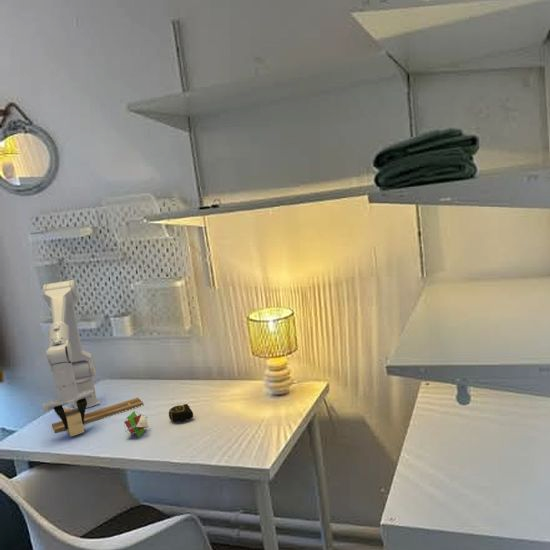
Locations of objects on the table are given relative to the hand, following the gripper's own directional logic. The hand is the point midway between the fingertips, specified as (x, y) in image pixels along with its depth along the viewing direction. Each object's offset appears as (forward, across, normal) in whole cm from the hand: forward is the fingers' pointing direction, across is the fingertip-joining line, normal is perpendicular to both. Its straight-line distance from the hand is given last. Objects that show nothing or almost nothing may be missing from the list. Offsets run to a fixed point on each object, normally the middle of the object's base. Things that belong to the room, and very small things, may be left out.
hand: (74, 426), depth 182 cm
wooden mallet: (+2, 0, +3) cm, 4 cm away
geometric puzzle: (+3, +15, -15) cm, 21 cm away
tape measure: (+3, +29, -15) cm, 33 cm away
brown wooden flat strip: (+3, +9, +9) cm, 13 cm away
